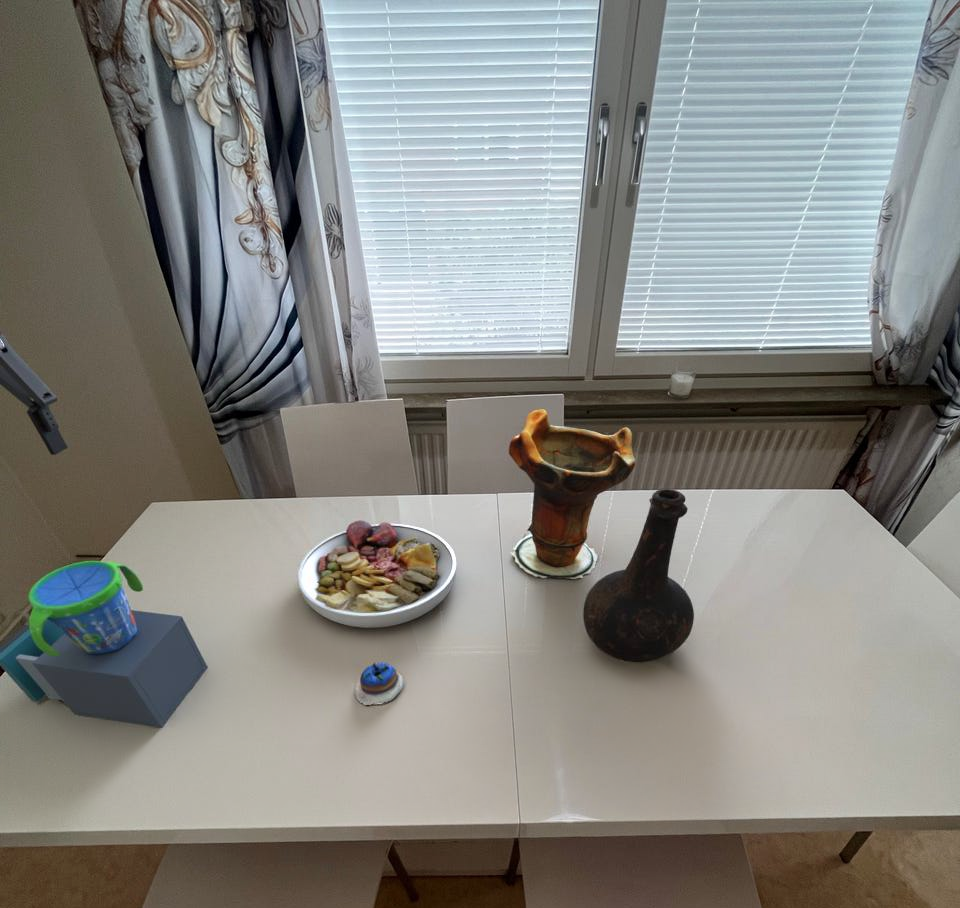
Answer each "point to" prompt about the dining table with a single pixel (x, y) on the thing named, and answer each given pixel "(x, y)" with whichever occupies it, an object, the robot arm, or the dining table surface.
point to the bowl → (377, 574)
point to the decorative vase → (565, 491)
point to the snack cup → (85, 606)
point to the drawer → (28, 660)
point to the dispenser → (128, 673)
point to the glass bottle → (643, 593)
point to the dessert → (378, 684)
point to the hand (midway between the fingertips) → (22, 448)
